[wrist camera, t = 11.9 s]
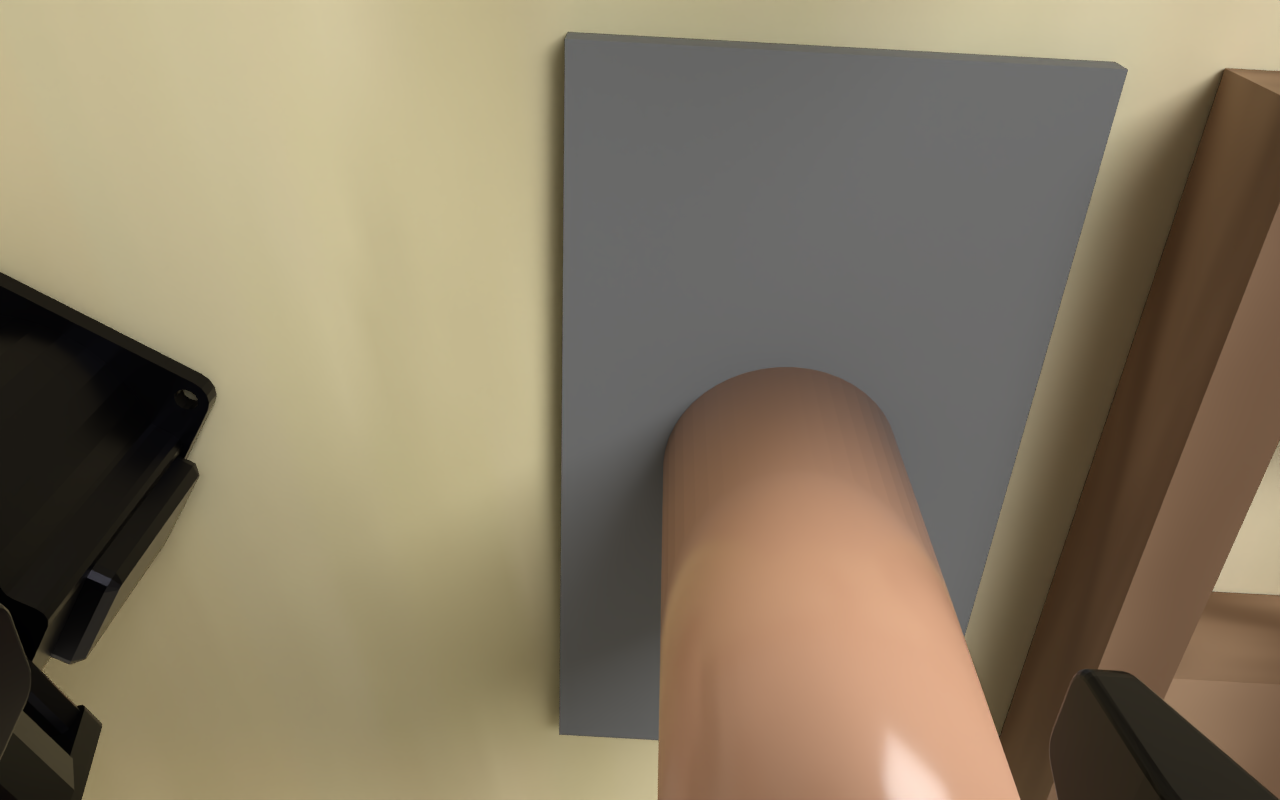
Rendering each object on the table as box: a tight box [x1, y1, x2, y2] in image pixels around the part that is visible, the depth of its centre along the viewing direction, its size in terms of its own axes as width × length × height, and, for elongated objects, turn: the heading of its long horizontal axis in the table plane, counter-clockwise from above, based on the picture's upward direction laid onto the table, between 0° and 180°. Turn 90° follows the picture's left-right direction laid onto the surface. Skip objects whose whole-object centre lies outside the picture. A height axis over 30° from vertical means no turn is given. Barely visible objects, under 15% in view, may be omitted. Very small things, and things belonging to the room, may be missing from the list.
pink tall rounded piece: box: [658, 367, 1020, 800], centre depth 18 cm, size 5×5×11 cm
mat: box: [559, 32, 1128, 740], centre depth 23 cm, size 10×18×1 cm, turn 177°
